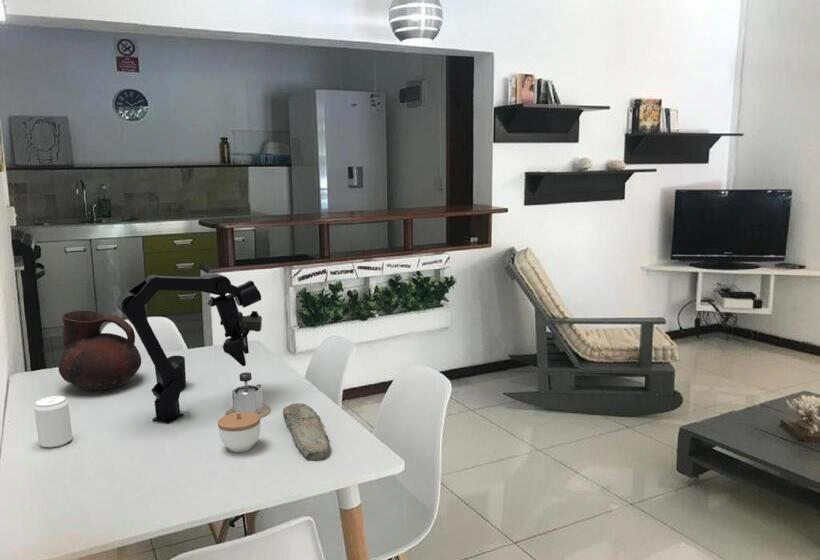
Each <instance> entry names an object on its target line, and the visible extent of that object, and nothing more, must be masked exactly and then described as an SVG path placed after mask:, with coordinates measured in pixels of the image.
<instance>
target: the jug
mask: <svg viewBox="0 0 820 560" xmlns="http://www.w3.org/2000/svg"><path fill="white" fill-rule="evenodd" d="M61 318H62V320H63V328H62V342H63V347H64V350H63V352H62V354H61V355H60V358H59V361H58V372H59V375H60V376H61V378H62V379H63V380H64V381H65V382H67V383H69V384H71V385H72V386H74V387H76V388H77V389H78V388H79V389H82V390H87V391H103V390H110V389H113V388H117V387H119V386H121V385H123V384H126V383H127V382H129V381H130V380H131V379H132V378H133V377H134V376H135V375H136V374H137V373H138V371H140V368H141V366H142V356H141V354H140V352H139V350H138V347H137V346H136V345H135V344H136V343H135V342H136V335H135V334H136V333H135V331H134V327H132V324H131V323H130V324H129V322H127V320H125V319H123V318H121V317H120V316H118V315H105V314H103V313H101V312H99V311H98V312H95V311H92V310H73V311H69V312H66V313H63V314H62V315H61ZM105 322H108V323H112V324H115V325H116V326H118V327H119V328H120V329H122V330H123V332H125V334H126V337H127V338H126V337H125V336H122V335H119V334H115V333H109V332H108V333H107V332H103V333H102V332H100V330H101V327H102V325H103V323H105Z"/></svg>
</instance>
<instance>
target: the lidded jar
mask: <svg viewBox="0 0 820 560" xmlns="http://www.w3.org/2000/svg"><path fill="white" fill-rule="evenodd" d="M217 426H218V433H219V438H220V441H221V442H222V444H223V445H224V446H225V447H226V448H228V449H229V451H230V452H234V453H241V452H242V453H243V452H246V451H250V450H251V449H253V447H254V445H255V444H256V443H257V441H258V440H259V437H260V435H261V434H260V433H261V418H260V416H259V415H258V414H257V413H254V412H235V413H231V414H227V415H225V414H224V415H223V416H221V417H220V418H219V419H218V420H217Z"/></svg>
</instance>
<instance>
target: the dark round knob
mask: <svg viewBox="0 0 820 560" xmlns="http://www.w3.org/2000/svg"><path fill="white" fill-rule="evenodd" d="M252 379H253V377H252V373H251V372H241V373H240V374H239V381H240V382H244V386H245V388H244V389H240V390H238V391H237V394H249V393H254V392H256V389H254V388H248V385H249V384H248V382H249V381H251V380H252Z"/></svg>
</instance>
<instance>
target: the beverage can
mask: <svg viewBox="0 0 820 560" xmlns="http://www.w3.org/2000/svg"><path fill="white" fill-rule="evenodd" d="M33 411H34V416H35V417H34V419H35V425H36V432H37V438H38V439H37V440H38V445H39V446H40V447H43V448H57V447H61V446H64V445H66V444H68V443H69V442H71V441H72V439H73V430H72V422H71V412H70V406H69V402H68V400H67V399H66V397H65V396H63V395H52V396H46V397H42V398H40V399H37V401H35V405H34V408H33Z"/></svg>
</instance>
